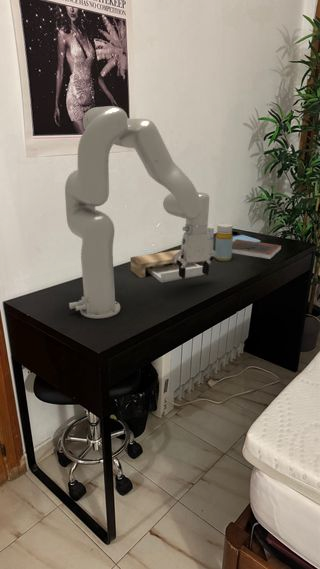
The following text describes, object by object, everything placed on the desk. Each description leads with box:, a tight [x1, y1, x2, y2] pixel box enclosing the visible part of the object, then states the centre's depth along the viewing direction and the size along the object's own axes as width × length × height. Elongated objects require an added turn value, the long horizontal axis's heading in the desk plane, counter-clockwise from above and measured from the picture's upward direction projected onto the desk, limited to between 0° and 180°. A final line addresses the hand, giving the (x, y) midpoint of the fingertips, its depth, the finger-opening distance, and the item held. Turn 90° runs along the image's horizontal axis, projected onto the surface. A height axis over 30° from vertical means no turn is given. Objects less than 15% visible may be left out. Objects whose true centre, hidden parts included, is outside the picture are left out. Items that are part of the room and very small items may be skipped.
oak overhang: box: [130, 249, 204, 279], centre depth 166 cm, size 30×10×6 cm, turn 116°
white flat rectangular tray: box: [145, 262, 205, 284], centre depth 161 cm, size 20×14×4 cm
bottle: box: [214, 222, 234, 262], centre depth 175 cm, size 7×7×15 cm
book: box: [232, 239, 282, 260], centre depth 189 cm, size 16×2×22 cm
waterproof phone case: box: [232, 234, 261, 243], centre depth 205 cm, size 14×12×1 cm
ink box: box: [207, 223, 215, 250], centre depth 187 cm, size 9×9×12 cm
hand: (193, 275), depth 148 cm, fingers open, 9 cm apart
